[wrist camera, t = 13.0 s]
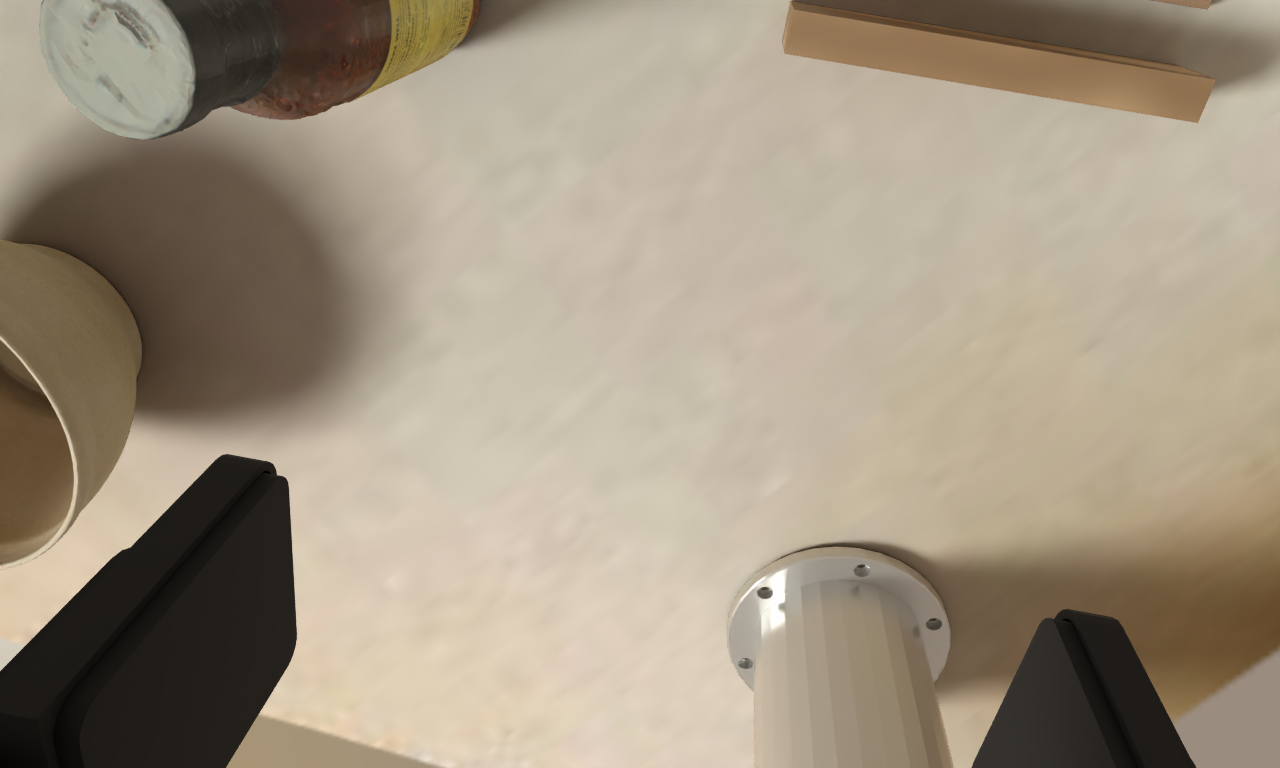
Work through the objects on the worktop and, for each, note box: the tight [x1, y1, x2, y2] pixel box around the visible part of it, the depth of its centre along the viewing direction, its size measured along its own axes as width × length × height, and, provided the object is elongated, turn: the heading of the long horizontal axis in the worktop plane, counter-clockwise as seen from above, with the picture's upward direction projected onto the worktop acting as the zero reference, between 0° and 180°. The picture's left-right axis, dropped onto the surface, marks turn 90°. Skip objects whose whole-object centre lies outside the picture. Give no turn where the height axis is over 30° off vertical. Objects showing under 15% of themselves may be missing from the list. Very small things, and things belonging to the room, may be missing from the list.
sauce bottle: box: [39, 0, 480, 140], centre depth 30 cm, size 7×6×20 cm
